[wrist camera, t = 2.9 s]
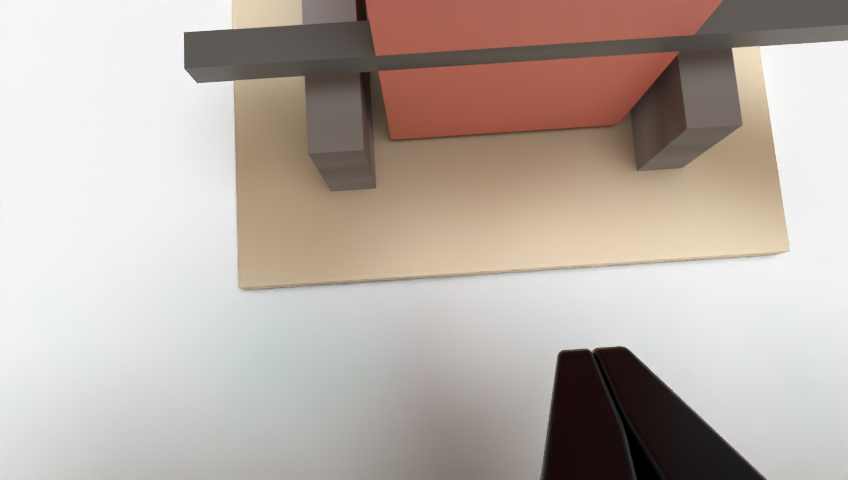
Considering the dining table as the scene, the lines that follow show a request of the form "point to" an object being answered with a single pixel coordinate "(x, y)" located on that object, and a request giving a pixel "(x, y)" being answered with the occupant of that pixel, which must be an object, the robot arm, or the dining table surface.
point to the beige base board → (495, 176)
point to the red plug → (509, 54)
